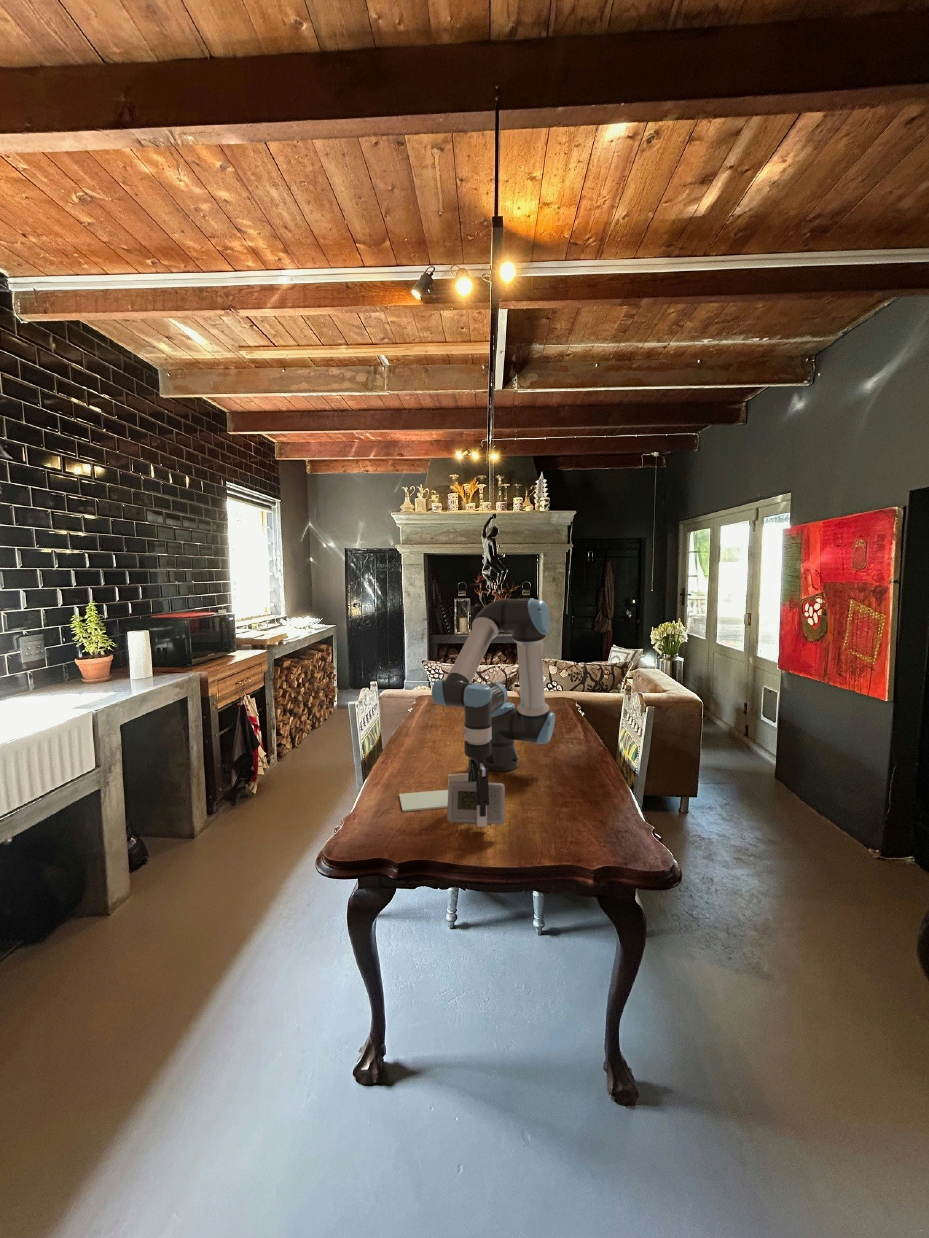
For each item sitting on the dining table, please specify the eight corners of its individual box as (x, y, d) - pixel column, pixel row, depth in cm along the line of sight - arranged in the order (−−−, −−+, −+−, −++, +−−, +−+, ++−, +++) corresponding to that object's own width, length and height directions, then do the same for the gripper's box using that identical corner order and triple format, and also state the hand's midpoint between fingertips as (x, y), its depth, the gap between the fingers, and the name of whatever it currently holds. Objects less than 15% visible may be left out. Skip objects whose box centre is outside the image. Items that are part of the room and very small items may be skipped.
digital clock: (444, 823, 149) (443, 786, 148) (454, 809, 157) (454, 774, 156) (501, 832, 144) (501, 794, 143) (508, 816, 153) (508, 780, 151)
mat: (456, 790, 179) (456, 789, 179) (463, 806, 167) (463, 804, 167) (399, 795, 175) (399, 793, 175) (402, 811, 163) (402, 809, 163)
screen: (485, 807, 166) (485, 770, 165) (488, 812, 163) (488, 774, 162) (447, 810, 164) (447, 772, 163) (449, 816, 160) (449, 777, 159)
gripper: (457, 729, 158) (457, 803, 160) (473, 755, 137) (473, 838, 140) (482, 727, 159) (482, 800, 162) (501, 752, 139) (501, 835, 141)
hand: (478, 818), depth 151 cm, fingers closed on digital clock, 8 cm apart
